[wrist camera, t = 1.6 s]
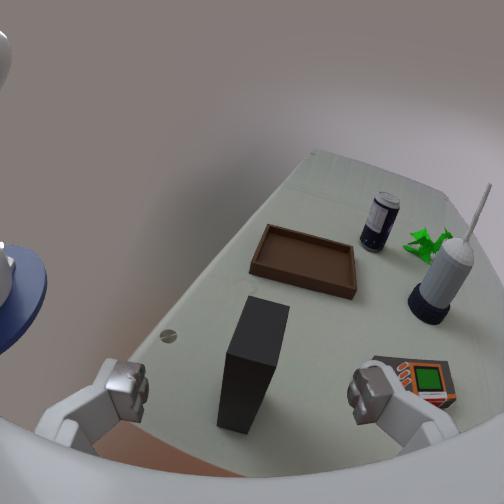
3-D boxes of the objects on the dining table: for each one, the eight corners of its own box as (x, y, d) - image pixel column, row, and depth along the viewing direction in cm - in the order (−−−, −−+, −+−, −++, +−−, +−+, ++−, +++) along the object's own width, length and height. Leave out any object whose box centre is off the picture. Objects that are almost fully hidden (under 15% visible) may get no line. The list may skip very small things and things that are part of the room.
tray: (248, 273, 46) (250, 262, 44) (265, 233, 56) (267, 223, 55) (352, 300, 44) (357, 289, 42) (349, 255, 54) (353, 246, 53)
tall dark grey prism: (216, 426, 25) (226, 352, 17) (232, 381, 29) (249, 292, 22) (247, 434, 24) (276, 367, 16) (259, 389, 29) (290, 303, 21)
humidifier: (447, 311, 44) (510, 194, 30) (435, 332, 39) (511, 200, 25) (417, 287, 49) (471, 170, 34) (401, 305, 44) (464, 171, 30)
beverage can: (382, 256, 56) (403, 206, 49) (358, 248, 57) (376, 197, 50) (381, 244, 61) (400, 197, 54) (359, 236, 62) (376, 188, 55)
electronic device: (358, 352, 32) (450, 359, 30) (350, 364, 34) (440, 371, 32) (360, 398, 27) (460, 399, 25) (351, 409, 28) (447, 410, 27)
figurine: (445, 272, 54) (456, 236, 49) (399, 259, 59) (407, 222, 55) (444, 260, 58) (454, 226, 54) (401, 248, 64) (409, 213, 60)
